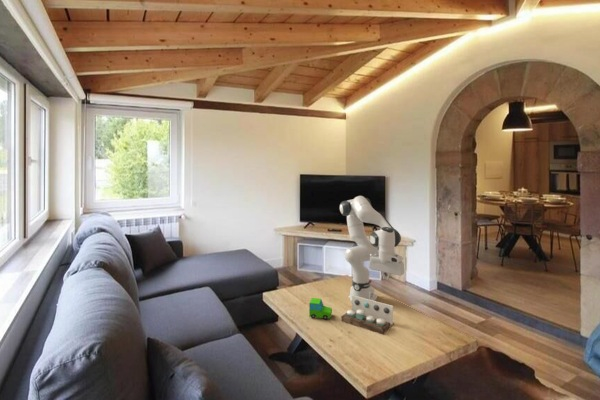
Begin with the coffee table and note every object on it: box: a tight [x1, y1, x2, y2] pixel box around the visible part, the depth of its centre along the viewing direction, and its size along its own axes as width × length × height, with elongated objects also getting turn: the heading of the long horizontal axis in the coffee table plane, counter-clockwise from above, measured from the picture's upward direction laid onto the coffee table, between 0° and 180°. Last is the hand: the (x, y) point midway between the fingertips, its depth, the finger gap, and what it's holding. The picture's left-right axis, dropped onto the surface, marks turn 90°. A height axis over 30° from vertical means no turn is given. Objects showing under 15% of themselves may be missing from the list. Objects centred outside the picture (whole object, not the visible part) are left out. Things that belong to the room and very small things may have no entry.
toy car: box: [308, 297, 333, 321], centre depth 216 cm, size 10×13×10 cm
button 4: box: [376, 318, 385, 327], centre depth 200 cm, size 5×5×4 cm
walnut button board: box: [340, 312, 391, 335], centre depth 206 cm, size 10×27×3 cm, turn 53°
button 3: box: [366, 316, 375, 323], centre depth 204 cm, size 5×5×4 cm
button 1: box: [346, 309, 355, 318], centre depth 212 cm, size 5×5×4 cm
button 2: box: [356, 309, 365, 320], centre depth 208 cm, size 5×5×4 cm
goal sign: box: [351, 295, 395, 328], centre depth 213 cm, size 4×27×12 cm, turn 53°
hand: (385, 279), depth 198 cm, fingers closed
